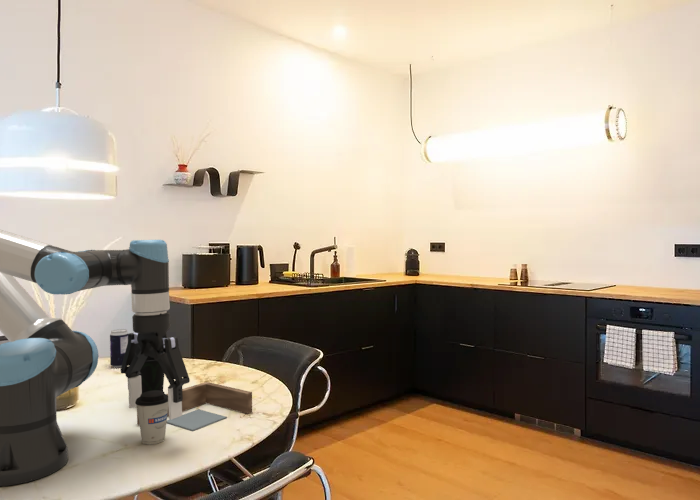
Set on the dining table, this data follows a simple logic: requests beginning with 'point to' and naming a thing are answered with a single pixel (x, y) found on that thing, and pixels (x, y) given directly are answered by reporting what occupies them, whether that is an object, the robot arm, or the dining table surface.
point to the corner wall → (215, 397)
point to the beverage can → (118, 347)
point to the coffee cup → (152, 416)
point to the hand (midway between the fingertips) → (155, 411)
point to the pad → (195, 419)
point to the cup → (151, 375)
